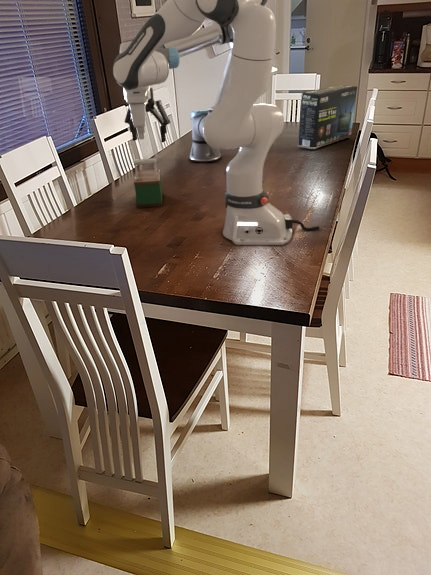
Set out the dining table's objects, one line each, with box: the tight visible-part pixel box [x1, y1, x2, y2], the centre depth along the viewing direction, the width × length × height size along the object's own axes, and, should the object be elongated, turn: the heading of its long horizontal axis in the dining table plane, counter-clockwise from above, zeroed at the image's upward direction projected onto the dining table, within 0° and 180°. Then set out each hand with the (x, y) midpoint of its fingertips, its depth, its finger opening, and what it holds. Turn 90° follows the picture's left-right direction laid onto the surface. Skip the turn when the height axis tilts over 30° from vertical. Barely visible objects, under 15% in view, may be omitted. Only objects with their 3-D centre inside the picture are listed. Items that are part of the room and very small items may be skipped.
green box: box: [134, 175, 163, 209], centre depth 177 cm, size 14×9×9 cm
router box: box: [297, 84, 358, 151], centre depth 238 cm, size 36×11×27 cm, turn 134°
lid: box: [133, 158, 161, 186], centre depth 172 cm, size 14×9×8 cm, turn 5°
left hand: (149, 140), depth 197 cm, fingers open, 13 cm apart
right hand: (142, 135), depth 162 cm, fingers open, 8 cm apart
